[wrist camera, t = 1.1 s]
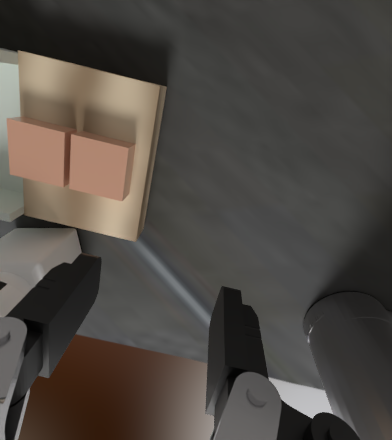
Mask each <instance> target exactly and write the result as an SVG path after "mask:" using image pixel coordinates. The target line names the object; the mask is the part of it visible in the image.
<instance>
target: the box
mask: <svg viewBox="0 0 392 440" xmlns="http://www.w3.org/2000/svg"><path fill="white" fill-rule="evenodd" d="M13 117H20V94H19V69H18V52H16V51H12V50H8V49H4V48H0V220H3V221H7V222H11V221H13V220H14V219H16V218H18V217H19V216H21V215H22V214H24V194H23V178H22V177H18V176H14V175H10V169H9V152H8V136H7V119H6V118H13Z"/></svg>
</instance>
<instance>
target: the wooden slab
mask: <svg viewBox="0 0 392 440" xmlns="http://www.w3.org/2000/svg"><path fill="white" fill-rule="evenodd" d="M18 69H19V94H20V117H22V116H24V117H28V118H32V119H36V120H40V121H44V122H48V123H53V124H57V125H61V126H65V127H69V128H73V129H77V132H81V131H85V132H89V133H93V134H97V135H101V136H105V137H109V138H114V139H118V140H122V141H126V142H130V143H134V144H136V147H135V154H134V162H133V169H132V177H131V184H130V192H129V195H128V196H127V197H126V198H125V199H124V200H123V201H118V200H114V199H109V198H105V197H101V196H97V195H93V194H89V193H85V192H80V191H76V190H72V189H69V184H68V185H66V186H65V187H60V186H56V185H51V184H47V183H43V182H39V181H35V180H31V179H26V178H23V194H24V215H25V216H30V217H34V218H38V219H42V220H46V221H51V222H55V223H59V224H63V225H67V226H72V227H76V228H80V229H84V230H88V231H93V232H97V233H101V234H105V235H109V236H114V237H118V238H122V239H126V240H130V241H135V242H136V241H137V239H138V237H139V236H140V234H141V232H142V230H143V228H144V223H145V217H146V211H147V205H148V199H149V192H150V186H151V180H152V174H153V168H154V162H155V156H156V150H157V144H158V138H159V132H160V126H161V120H162V114H163V107H164V101H165V95H166V89H167V87H166V86H162V85H158V84H154V83H150V82H146V81H142V80H138V79H134V78H130V77H126V76H122V75H118V74H114V73H110V72H106V71H102V70H98V69H94V68H90V67H86V66H82V65H78V64H74V63H70V62H66V61H62V60H58V59H54V58H50V57H46V56H42V55H38V54H33V53H28V52H24V51H19V50H18Z"/></svg>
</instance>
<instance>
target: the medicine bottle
mask: <svg viewBox="0 0 392 440" xmlns="http://www.w3.org/2000/svg"><path fill="white" fill-rule="evenodd" d="M81 253H82V251H81V247H80V243H79V239H78V235H77V231H76V229H75V228H16V229H14V230H12V231H11V232H9V233H8V234H6V235H5V236H3V237H2V238H0V317H5V316H6V315H7V314H8V313H9V312H10V311H11V310H12V309H13V308H14V307H15V306H16V305H17V304H18V303H19V302H20V301H21V300H22V299H23V298H24V297H25V295H26V294H27V293H28V292H29V291H30V290H31V289H32V288H33V287H35V285H36V284H37V283H38V282H39V281H40V280H42V279H43V277H44V276H45V275H46V274H47V273H48V272H49V271H50V270H51V269H52V268H54V267H56V266H58V265H60V264H61V263H63V262H66V263H70V264H72V262H73V261H74V260H75V259H76V258H77V257H78V256H79V255H80V254H81Z"/></svg>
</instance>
